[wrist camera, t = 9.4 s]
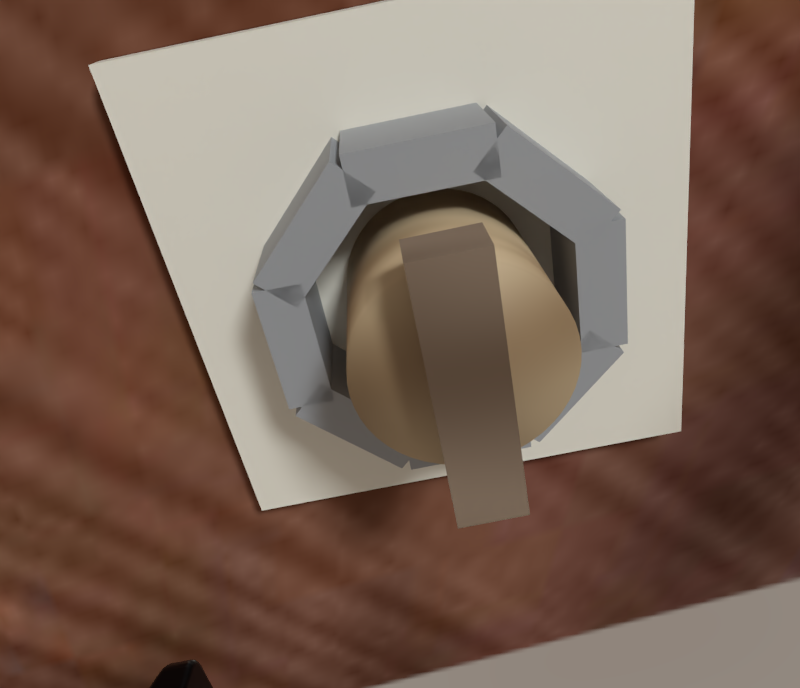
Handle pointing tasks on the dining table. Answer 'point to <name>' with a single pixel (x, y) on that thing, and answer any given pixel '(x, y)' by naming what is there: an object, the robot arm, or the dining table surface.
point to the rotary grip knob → (457, 345)
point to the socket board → (405, 176)
